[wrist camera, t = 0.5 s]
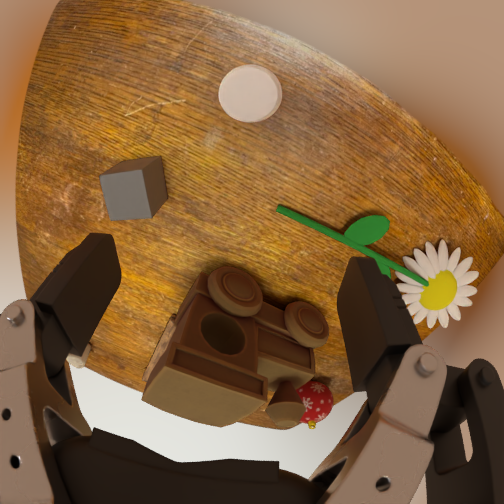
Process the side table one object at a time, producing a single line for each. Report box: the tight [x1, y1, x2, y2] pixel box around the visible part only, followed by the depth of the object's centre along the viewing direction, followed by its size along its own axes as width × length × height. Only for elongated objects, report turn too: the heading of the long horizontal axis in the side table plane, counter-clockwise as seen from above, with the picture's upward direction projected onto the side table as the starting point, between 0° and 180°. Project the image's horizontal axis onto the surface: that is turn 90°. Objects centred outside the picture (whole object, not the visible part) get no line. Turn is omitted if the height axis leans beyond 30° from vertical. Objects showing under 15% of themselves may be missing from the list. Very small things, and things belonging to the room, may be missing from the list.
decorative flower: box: [276, 205, 479, 328], centre depth 30 cm, size 13×5×30 cm
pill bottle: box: [219, 64, 282, 123], centre depth 19 cm, size 5×5×8 cm
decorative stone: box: [66, 343, 91, 368], centre depth 45 cm, size 11×9×10 cm
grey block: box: [99, 156, 168, 221], centre depth 26 cm, size 5×5×5 cm
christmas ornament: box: [296, 381, 333, 429], centre depth 45 cm, size 9×9×10 cm
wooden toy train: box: [142, 266, 329, 428], centre depth 31 cm, size 20×11×17 cm, turn 59°
